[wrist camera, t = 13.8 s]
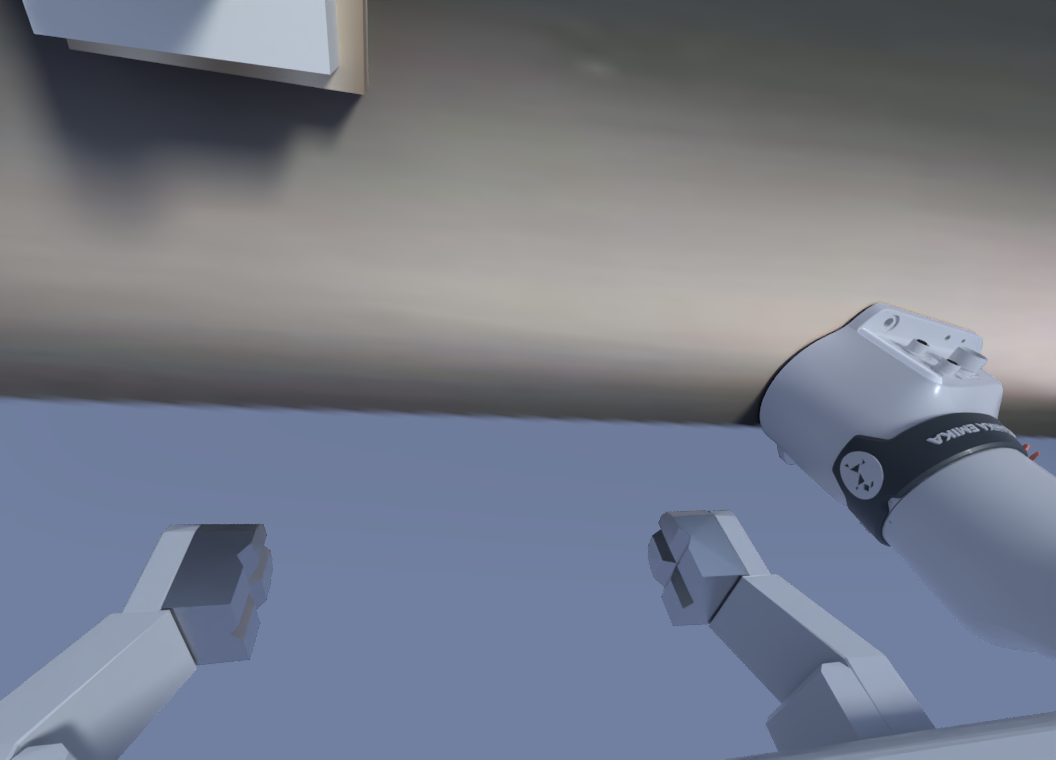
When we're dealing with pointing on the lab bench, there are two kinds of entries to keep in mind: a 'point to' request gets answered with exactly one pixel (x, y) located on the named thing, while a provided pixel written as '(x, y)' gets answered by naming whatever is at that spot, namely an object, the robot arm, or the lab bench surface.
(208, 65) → the maple base block
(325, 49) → the white top block
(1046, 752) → the robot arm
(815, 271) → the lab bench surface
